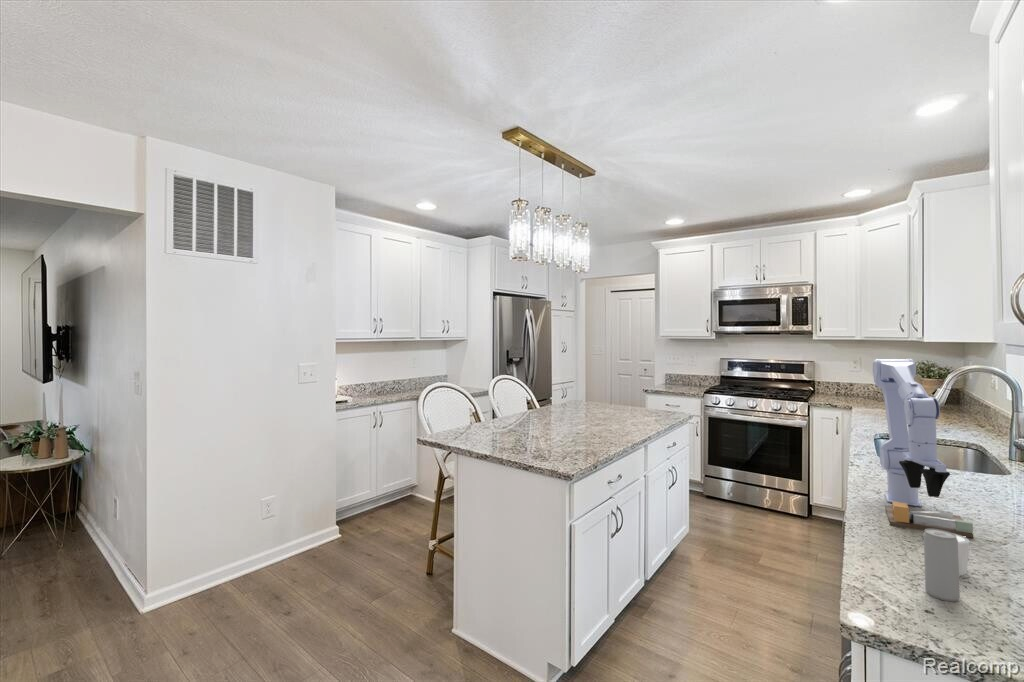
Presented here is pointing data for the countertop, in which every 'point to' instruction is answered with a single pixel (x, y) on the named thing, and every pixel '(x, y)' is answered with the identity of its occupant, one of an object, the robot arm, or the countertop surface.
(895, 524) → the tong board
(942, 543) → the beverage can
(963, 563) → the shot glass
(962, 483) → the countertop surface
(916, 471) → the robot arm
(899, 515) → the collar
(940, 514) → the tong arm
